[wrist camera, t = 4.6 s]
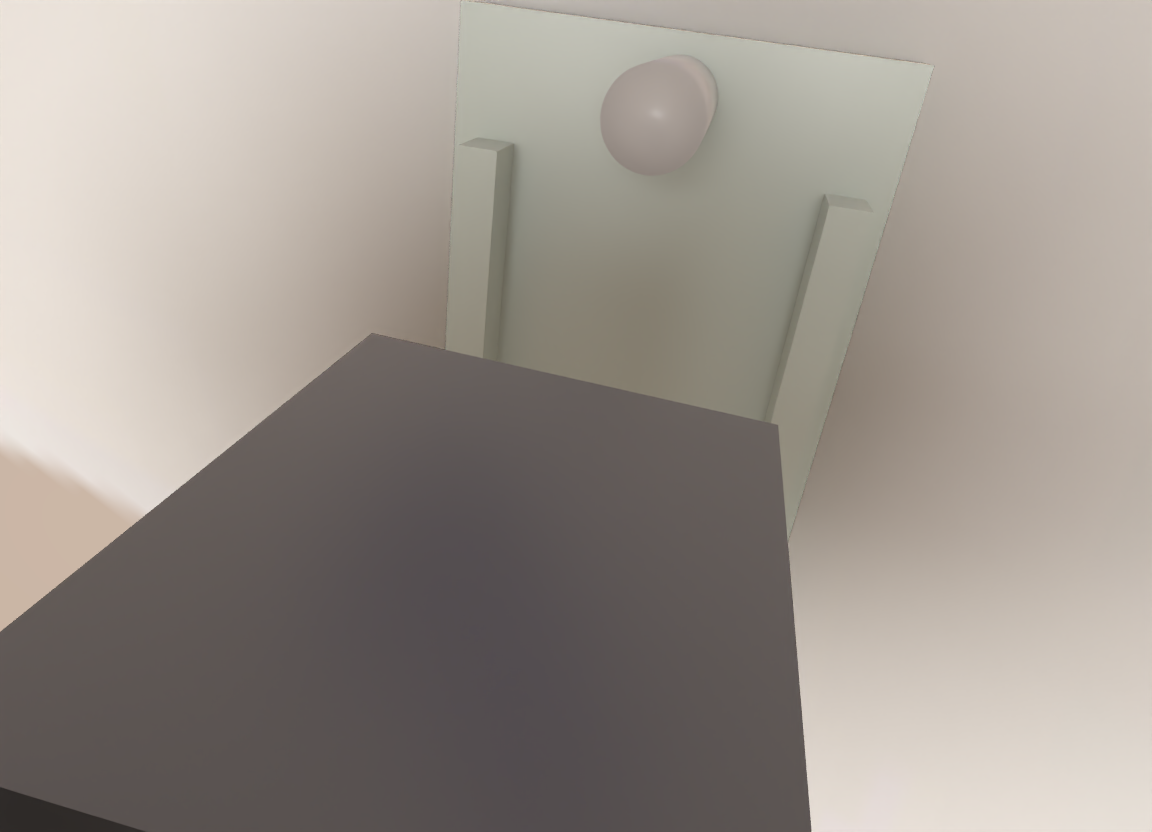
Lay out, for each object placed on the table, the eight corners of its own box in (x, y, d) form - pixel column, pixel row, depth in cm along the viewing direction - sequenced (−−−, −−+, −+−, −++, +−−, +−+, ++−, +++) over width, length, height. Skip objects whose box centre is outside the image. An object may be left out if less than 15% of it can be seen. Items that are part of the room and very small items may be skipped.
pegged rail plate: (924, 63, 15) (993, 77, 11) (757, 615, 21) (757, 765, 17) (477, 2, 16) (372, -9, 12) (448, 543, 23) (373, 666, 18)
